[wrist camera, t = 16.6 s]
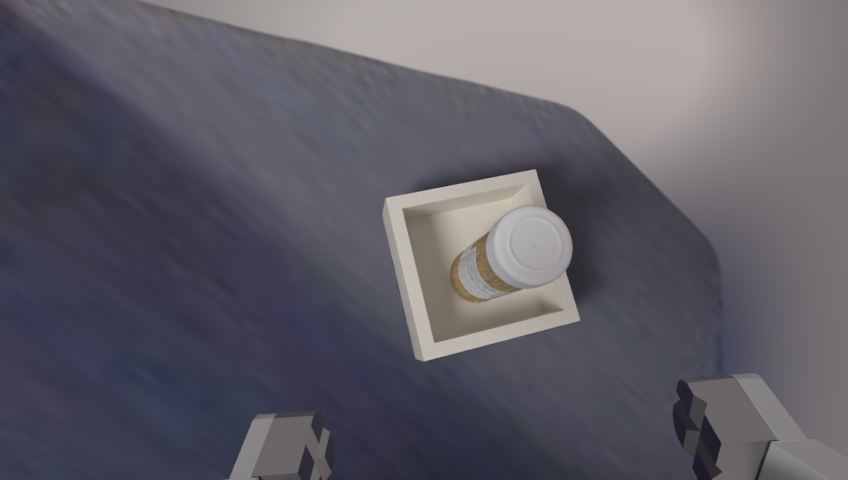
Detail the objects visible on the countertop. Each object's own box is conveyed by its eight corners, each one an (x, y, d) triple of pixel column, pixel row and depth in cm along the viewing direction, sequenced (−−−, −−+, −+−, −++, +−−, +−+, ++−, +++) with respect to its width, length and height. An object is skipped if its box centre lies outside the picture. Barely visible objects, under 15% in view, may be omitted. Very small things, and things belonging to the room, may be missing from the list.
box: (553, 323, 40) (580, 320, 35) (415, 358, 38) (424, 361, 33) (514, 188, 42) (535, 169, 37) (382, 215, 40) (385, 198, 35)
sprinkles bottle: (496, 245, 40) (565, 198, 26) (507, 299, 39) (584, 278, 26) (442, 253, 39) (487, 208, 26) (453, 309, 38) (504, 291, 25)
